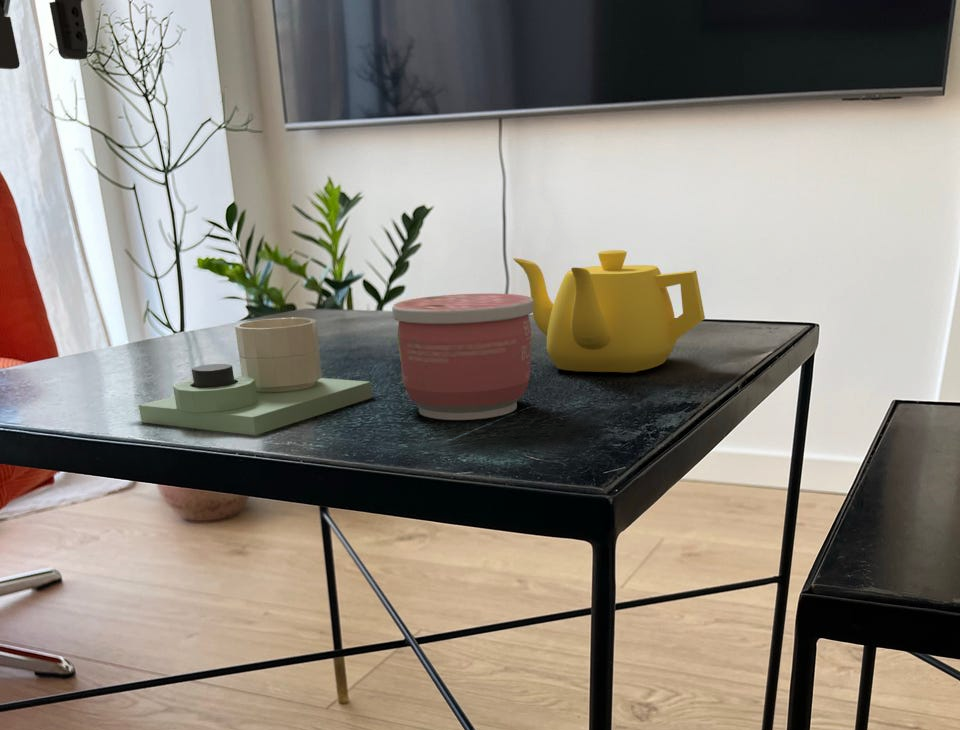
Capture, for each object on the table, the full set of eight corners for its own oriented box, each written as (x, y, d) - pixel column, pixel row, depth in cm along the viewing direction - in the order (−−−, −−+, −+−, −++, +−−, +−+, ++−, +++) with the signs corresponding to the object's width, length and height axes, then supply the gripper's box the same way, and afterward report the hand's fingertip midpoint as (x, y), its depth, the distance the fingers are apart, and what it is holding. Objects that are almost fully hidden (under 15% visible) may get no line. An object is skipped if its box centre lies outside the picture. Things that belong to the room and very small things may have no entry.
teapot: (514, 363, 97) (511, 252, 93) (640, 349, 101) (642, 242, 96) (575, 386, 85) (573, 260, 81) (715, 369, 89) (720, 248, 85)
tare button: (215, 393, 75) (211, 371, 74) (186, 390, 77) (182, 369, 76) (243, 385, 77) (240, 364, 77) (215, 383, 79) (212, 362, 78)
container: (457, 391, 85) (452, 291, 82) (562, 403, 79) (561, 295, 76) (371, 416, 78) (362, 307, 74) (480, 431, 72) (475, 313, 68)
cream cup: (286, 396, 79) (278, 330, 77) (227, 390, 82) (217, 327, 80) (338, 381, 84) (332, 318, 82) (280, 376, 87) (272, 316, 85)
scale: (251, 437, 73) (245, 395, 72) (137, 424, 79) (129, 385, 78) (372, 398, 84) (369, 361, 83) (264, 389, 90) (259, 354, 89)
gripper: (-114, -180, 75) (-56, 69, 82) (5, -226, 68) (57, 52, 75) (-23, -158, 81) (24, 74, 88) (96, -197, 74) (137, 58, 81)
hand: (39, 63), depth 81 cm, fingers open, 8 cm apart
